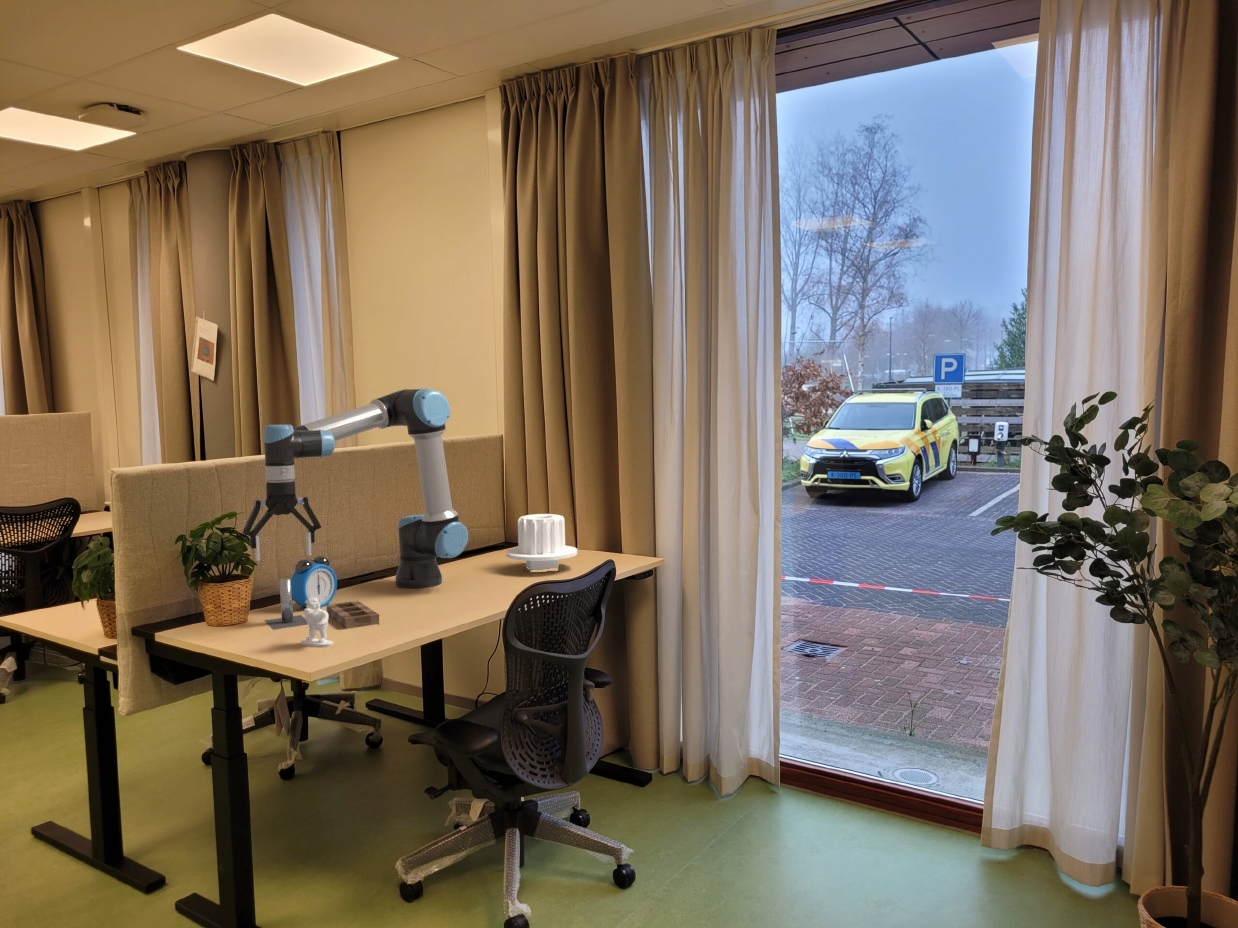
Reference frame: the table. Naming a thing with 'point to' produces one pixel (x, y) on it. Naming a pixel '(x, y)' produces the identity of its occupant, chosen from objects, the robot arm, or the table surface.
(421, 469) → the robot arm
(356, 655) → the table surface
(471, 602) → the table surface
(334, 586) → the alarm clock
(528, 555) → the flanged gear
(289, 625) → the mat
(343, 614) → the hole block
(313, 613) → the figurine
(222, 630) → the table surface
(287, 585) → the pin
